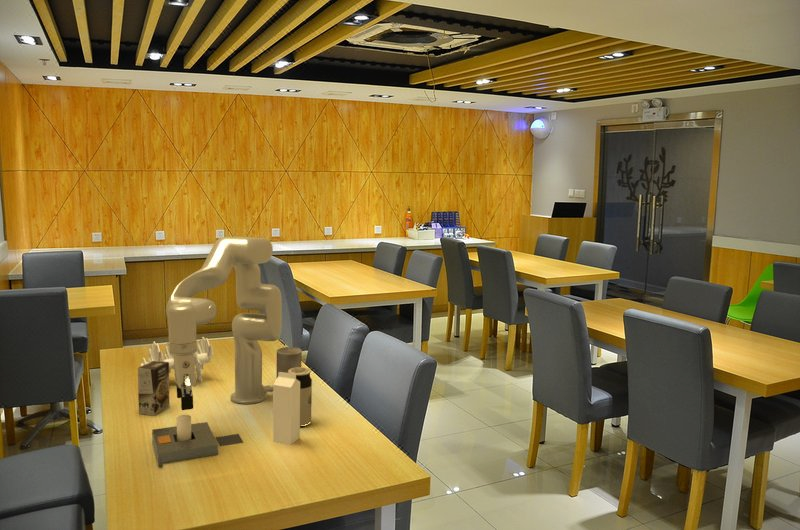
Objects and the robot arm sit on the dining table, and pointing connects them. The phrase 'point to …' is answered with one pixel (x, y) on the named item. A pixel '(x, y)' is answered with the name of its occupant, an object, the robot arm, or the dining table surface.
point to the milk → (286, 408)
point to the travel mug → (304, 392)
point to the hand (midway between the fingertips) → (185, 403)
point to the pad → (229, 440)
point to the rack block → (183, 444)
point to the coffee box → (153, 387)
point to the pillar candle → (288, 359)
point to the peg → (183, 428)
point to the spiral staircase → (155, 354)
